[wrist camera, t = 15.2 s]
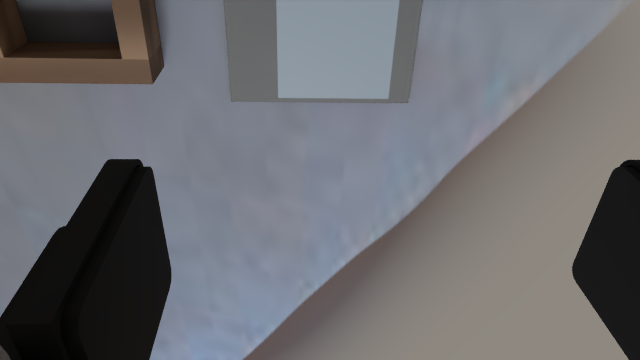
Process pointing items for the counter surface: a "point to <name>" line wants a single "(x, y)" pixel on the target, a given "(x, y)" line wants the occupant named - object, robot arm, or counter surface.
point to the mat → (261, 53)
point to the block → (335, 48)
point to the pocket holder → (84, 50)
